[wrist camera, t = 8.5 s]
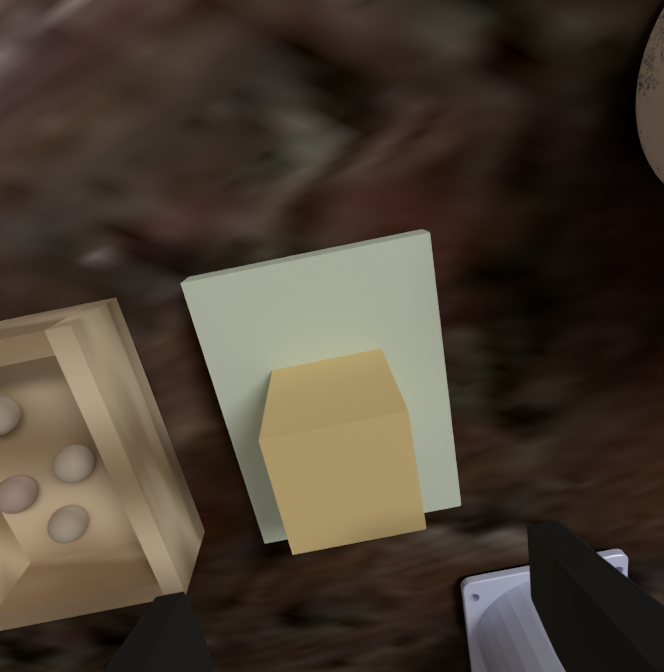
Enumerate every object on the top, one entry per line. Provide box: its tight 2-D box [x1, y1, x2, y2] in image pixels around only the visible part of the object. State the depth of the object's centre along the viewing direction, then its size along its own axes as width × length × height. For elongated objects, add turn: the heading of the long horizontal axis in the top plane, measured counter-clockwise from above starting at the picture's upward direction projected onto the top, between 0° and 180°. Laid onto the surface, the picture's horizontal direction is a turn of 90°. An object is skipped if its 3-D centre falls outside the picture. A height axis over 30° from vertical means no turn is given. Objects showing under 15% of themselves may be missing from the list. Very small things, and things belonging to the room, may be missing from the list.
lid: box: [181, 229, 461, 555], centre depth 15 cm, size 11×8×6 cm
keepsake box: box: [0, 298, 205, 631], centre depth 16 cm, size 11×8×3 cm
